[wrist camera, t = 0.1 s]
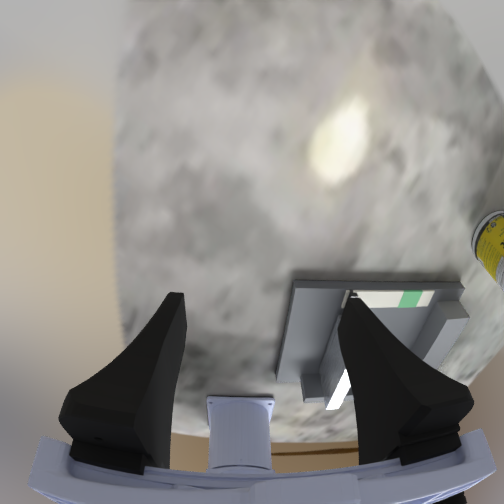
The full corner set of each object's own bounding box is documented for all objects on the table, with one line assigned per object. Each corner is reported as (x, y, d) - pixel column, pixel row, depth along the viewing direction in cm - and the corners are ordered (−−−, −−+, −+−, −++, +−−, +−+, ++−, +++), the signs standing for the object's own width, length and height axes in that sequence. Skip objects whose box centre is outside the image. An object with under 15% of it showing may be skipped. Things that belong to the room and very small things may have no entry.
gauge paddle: (329, 369, 31) (338, 408, 27) (318, 370, 31) (326, 409, 27) (359, 290, 25) (376, 333, 21) (345, 290, 25) (361, 333, 21)
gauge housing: (413, 366, 34) (423, 392, 30) (275, 374, 33) (278, 406, 30) (460, 282, 27) (479, 309, 23) (294, 279, 26) (300, 315, 22)
